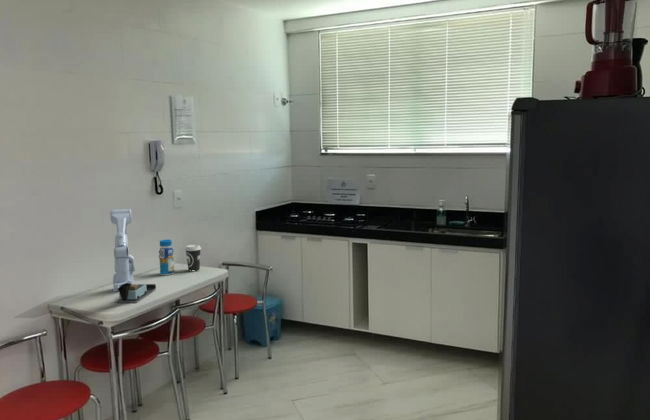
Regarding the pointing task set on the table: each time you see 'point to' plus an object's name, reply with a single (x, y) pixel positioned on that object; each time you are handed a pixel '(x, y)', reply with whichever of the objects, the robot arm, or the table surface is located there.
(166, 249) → the beverage bottle
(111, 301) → the table surface
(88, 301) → the table surface
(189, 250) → the coffee cup
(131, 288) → the walnut block
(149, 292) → the rail
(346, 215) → the table surface
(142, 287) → the cart
